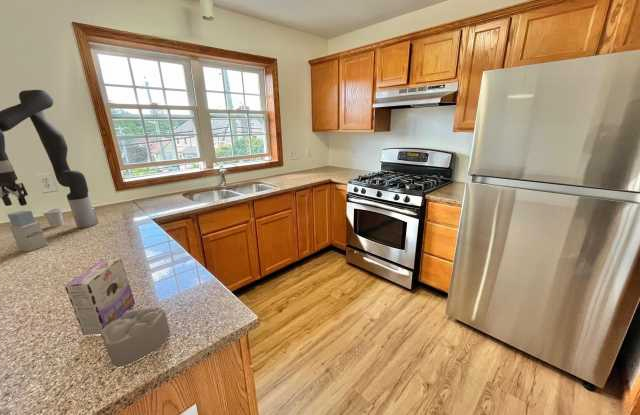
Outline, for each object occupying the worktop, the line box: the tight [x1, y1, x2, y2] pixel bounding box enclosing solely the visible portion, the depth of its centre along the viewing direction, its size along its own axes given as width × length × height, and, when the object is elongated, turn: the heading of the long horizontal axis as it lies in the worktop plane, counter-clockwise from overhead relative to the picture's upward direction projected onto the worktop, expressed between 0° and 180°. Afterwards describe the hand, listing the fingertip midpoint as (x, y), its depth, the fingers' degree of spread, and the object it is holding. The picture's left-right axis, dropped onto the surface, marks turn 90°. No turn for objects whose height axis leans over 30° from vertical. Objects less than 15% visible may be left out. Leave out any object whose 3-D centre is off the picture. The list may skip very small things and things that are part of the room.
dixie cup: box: [42, 208, 65, 229], centre depth 159 cm, size 8×8×10 cm
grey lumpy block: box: [100, 306, 171, 367], centre depth 66 cm, size 10×13×9 cm
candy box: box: [64, 257, 136, 336], centre depth 75 cm, size 14×6×16 cm, turn 5°
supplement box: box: [9, 221, 48, 252], centre depth 128 cm, size 7×7×13 cm
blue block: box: [7, 210, 36, 227], centre depth 125 cm, size 6×6×6 cm
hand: (16, 205), depth 123 cm, fingers open, 8 cm apart
